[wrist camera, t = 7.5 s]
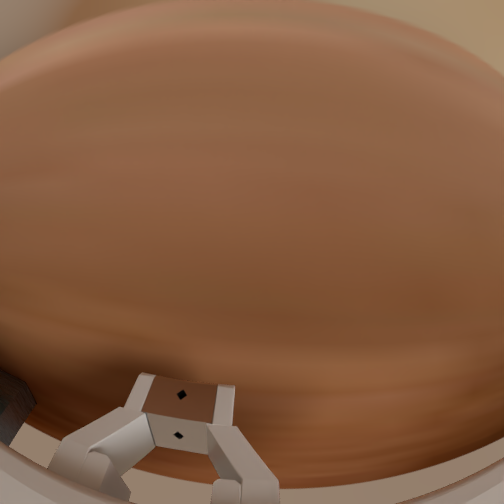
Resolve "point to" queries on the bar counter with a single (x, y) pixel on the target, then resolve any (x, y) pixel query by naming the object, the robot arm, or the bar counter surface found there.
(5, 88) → the bar counter surface
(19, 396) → the bridge
